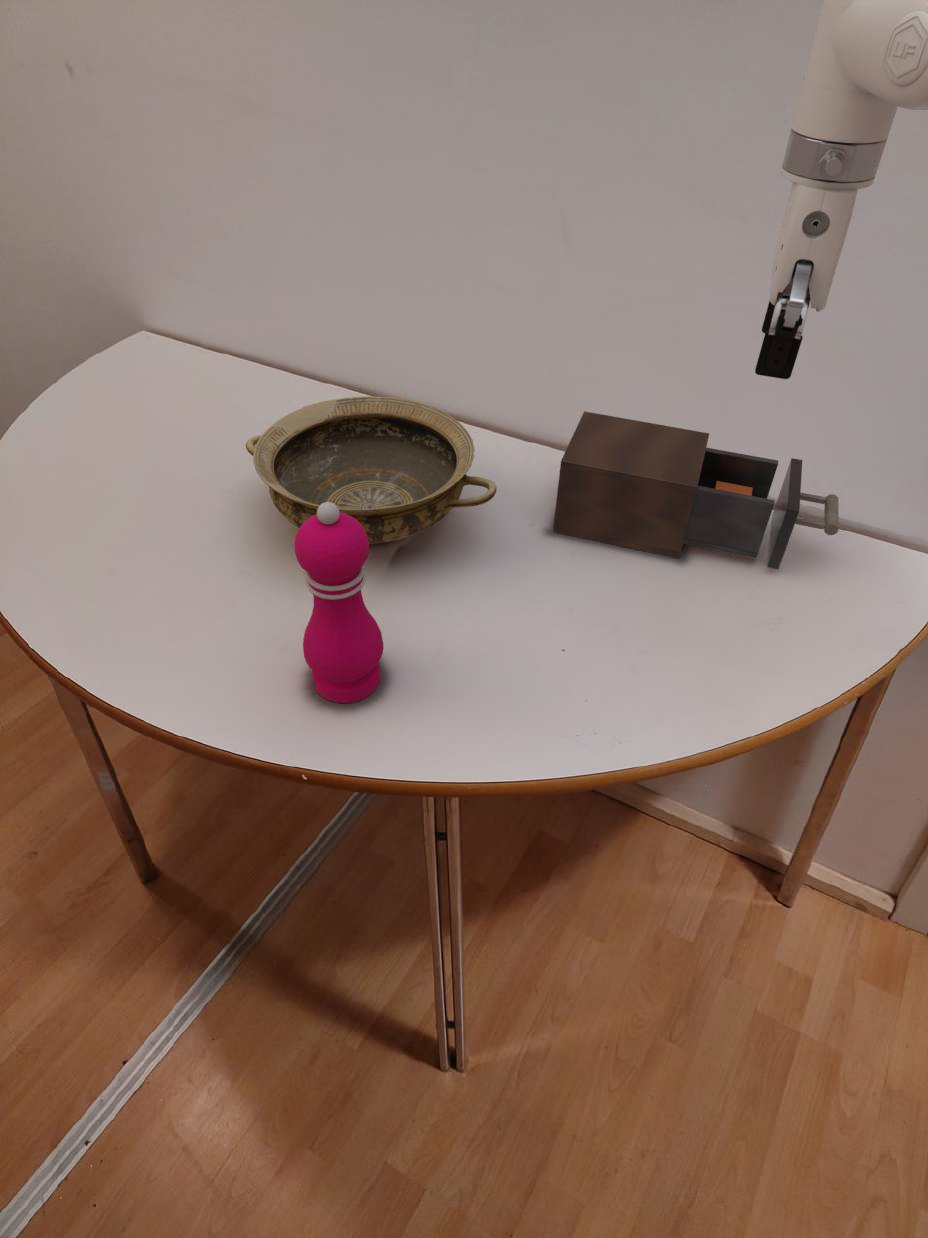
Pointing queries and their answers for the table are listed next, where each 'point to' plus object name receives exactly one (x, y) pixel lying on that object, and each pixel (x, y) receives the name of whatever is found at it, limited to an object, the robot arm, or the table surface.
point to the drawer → (751, 506)
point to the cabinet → (629, 483)
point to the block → (734, 488)
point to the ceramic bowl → (369, 464)
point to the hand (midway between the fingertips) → (774, 353)
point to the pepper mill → (338, 606)
